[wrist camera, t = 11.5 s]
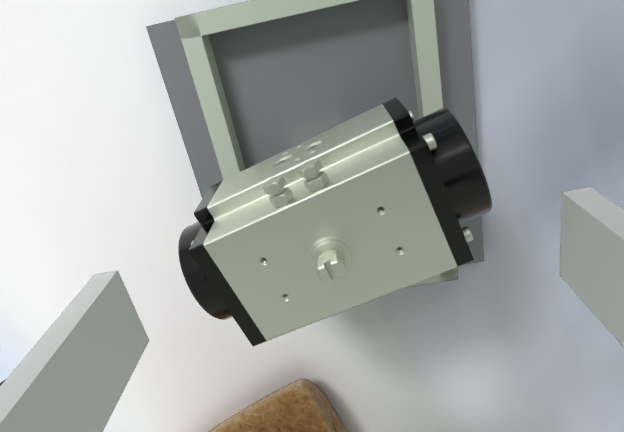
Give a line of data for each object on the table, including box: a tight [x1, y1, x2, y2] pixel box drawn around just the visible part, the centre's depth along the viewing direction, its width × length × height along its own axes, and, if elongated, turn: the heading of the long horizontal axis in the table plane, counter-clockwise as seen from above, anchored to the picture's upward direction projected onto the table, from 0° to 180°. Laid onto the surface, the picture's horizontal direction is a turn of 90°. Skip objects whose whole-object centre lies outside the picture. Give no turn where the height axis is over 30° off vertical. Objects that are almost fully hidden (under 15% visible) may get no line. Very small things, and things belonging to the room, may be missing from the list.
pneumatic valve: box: [179, 97, 492, 346], centre depth 20 cm, size 6×12×12 cm, turn 116°
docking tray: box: [146, 0, 484, 288], centre depth 25 cm, size 17×16×2 cm
